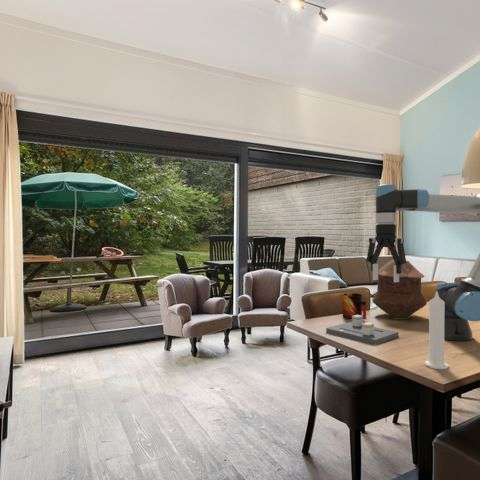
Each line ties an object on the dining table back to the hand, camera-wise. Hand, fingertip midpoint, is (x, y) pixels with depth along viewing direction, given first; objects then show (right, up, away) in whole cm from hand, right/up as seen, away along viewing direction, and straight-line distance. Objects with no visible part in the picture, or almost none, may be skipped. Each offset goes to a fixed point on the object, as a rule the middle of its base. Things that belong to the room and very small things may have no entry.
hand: (385, 280), depth 151 cm
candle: (+8, -26, -24) cm, 36 cm away
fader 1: (-5, -23, +21) cm, 31 cm away
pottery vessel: (+25, -24, +47) cm, 59 cm away
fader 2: (-5, -23, +7) cm, 24 cm away
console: (-5, -25, +14) cm, 29 cm away
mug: (+2, -25, +45) cm, 52 cm away
